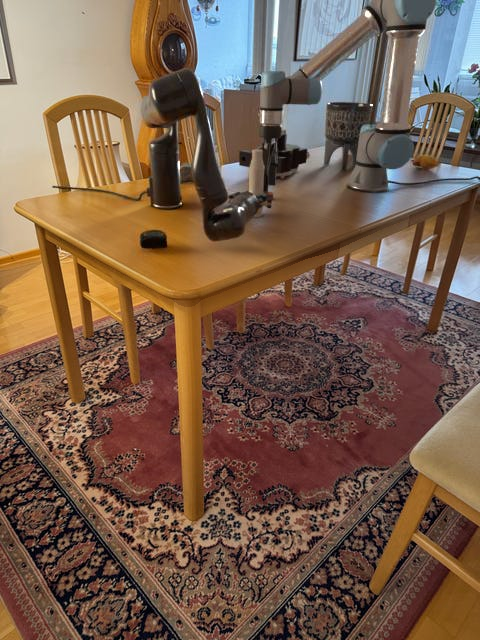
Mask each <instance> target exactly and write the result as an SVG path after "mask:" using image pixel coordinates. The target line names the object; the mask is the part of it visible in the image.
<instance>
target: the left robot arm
mask: <svg viewBox="0 0 480 640" xmlns="http://www.w3.org/2000/svg"><path fill="white" fill-rule="evenodd" d="M140 114H141V119H142V123H144V125H145V126H146V127H147V128H150V129H166V131H165V133H163V134H162V135H161V136H159V137H157V138H154V139H152V140H150V141H149V143H148V152H149V164H150V165H149V166H150V176H149V177H148V185H149V186H148V187H147V188H146V190H145V191H142V192H141V193H139V197H138V198H135V197H131V196H128V195H125V194H122V193H118V192H115V191H112V190H111V191H110V190H106V189H99V188H89V187H76V186H75V187H73V186H62V185H61V186H60V185H52V188H53V189H64V190H75V191H76V190H78V191H90V192H99V193H104V194H105V193H106V194H110V195H115V196H118V197H122V198H125V199H128V200H131V201H135V202H136V201H137V202H138V201H141V199H142V197H143V196H144V195H146V196H147V197H149V198H150V199H149V200H150V207H154V208H156V209H161V210H170V209H171V210H172V209H177V208H180V207H181V206H182V200H183V196H182V191H181V190H182V189H181V183H180V148H179V122H180V121H182V120H184V119H187V118H190V117H193V120H194V124H195V142H194V149H193V155H192V161H191V165H192V168H191V172H192V179H193V182H192V183H193V184H194V187H195V190H196V193H197V195H198V198H199V201H200V206H201V213H202V224H203V225H202V226H203V233H204V235H205V236H206V237H207V239H208V240H209V241H211V242H221V241H227V240H232V239H233V240H234V239H237V238H240V237H241V236H243V235H244V233H245V231H246V223H248V222H249V221H251V220H252V219H253V218H254V217H253V216H254V215H255V214H256V213H257V211H258V210H259V208H261V207H262V206H263V207H264V206H265V207H266V208H267V209H272V206H273V200H272V197H271V195H268V193H267V191H265V192H264V193H263V194H257V195H254V194H252V193H250V192H249V189H248V190H246V191H242V192H241V191H237V192H233V193H231V194H229V193H228V192H229V191H228V189H227V187H226V183H225V180H224V178H223V174H222V171H221V167H220V164H219V161H218V158H217V153H216V148H215V143H214V137H213V133H212V127H211V124H210V123H211V122H210V118H209V114H208V109H207V105H206V100H205V97H204V94H203V90H202V86H201V84H200V81H199V79H198V77H197V76H196V74H195V72H194V71H193V70H192V69H191V68H188V67H185V68H181V69H178V70H176V71H173V72H170V73H168V74H165V75H163V76H161V77H158V78H156V79H154V80H152V81H151V82H150V85H149V87H148V94H147V95H145V96H143V98H142V100H141V103H140ZM226 202H228V203H227V205H226V206H225V207H224V208H223V209H222V211H221V212H217V211H216V208H218V207H220V206H221V205H224V204H226Z"/></svg>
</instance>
